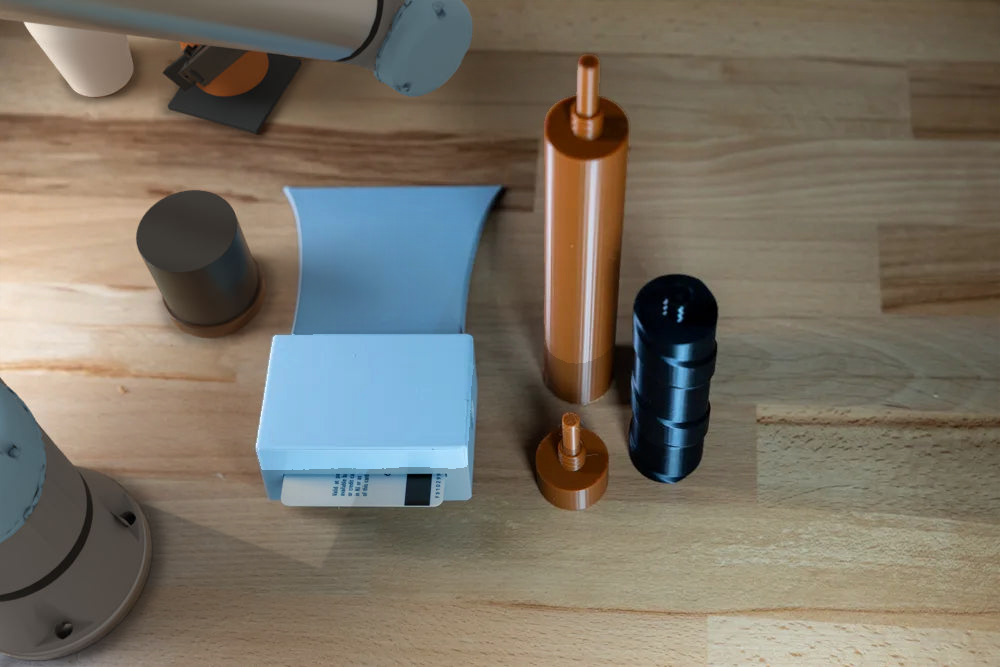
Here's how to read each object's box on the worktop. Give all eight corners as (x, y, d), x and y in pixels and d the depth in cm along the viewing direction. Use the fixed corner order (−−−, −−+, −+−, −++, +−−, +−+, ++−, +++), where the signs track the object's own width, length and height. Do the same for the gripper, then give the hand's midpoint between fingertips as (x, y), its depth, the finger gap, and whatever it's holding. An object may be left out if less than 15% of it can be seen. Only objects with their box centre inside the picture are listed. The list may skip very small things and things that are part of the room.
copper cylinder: (247, 104, 114) (226, 44, 107) (178, 85, 116) (154, 24, 109) (281, 50, 118) (264, -13, 111) (214, 32, 119) (193, -31, 112)
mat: (257, 134, 116) (256, 130, 115) (168, 109, 118) (167, 105, 117) (302, 63, 120) (301, 59, 120) (215, 40, 122) (214, 36, 122)
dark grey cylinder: (237, 350, 103) (208, 288, 94) (148, 321, 105) (112, 257, 96) (283, 269, 107) (259, 203, 99) (196, 242, 109) (165, 175, 101)
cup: (99, 120, 117) (55, 33, 107) (39, 81, 120) (-10, -8, 110) (164, 65, 121) (127, -25, 110) (103, 28, 124) (63, -63, 114)
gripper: (294, 73, 96) (176, 150, 113) (395, -89, 105) (272, 5, 123) (221, 9, 92) (111, 99, 110) (332, -152, 102) (214, -46, 119)
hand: (196, 49), depth 116 cm, fingers closed on copper cylinder, 8 cm apart
